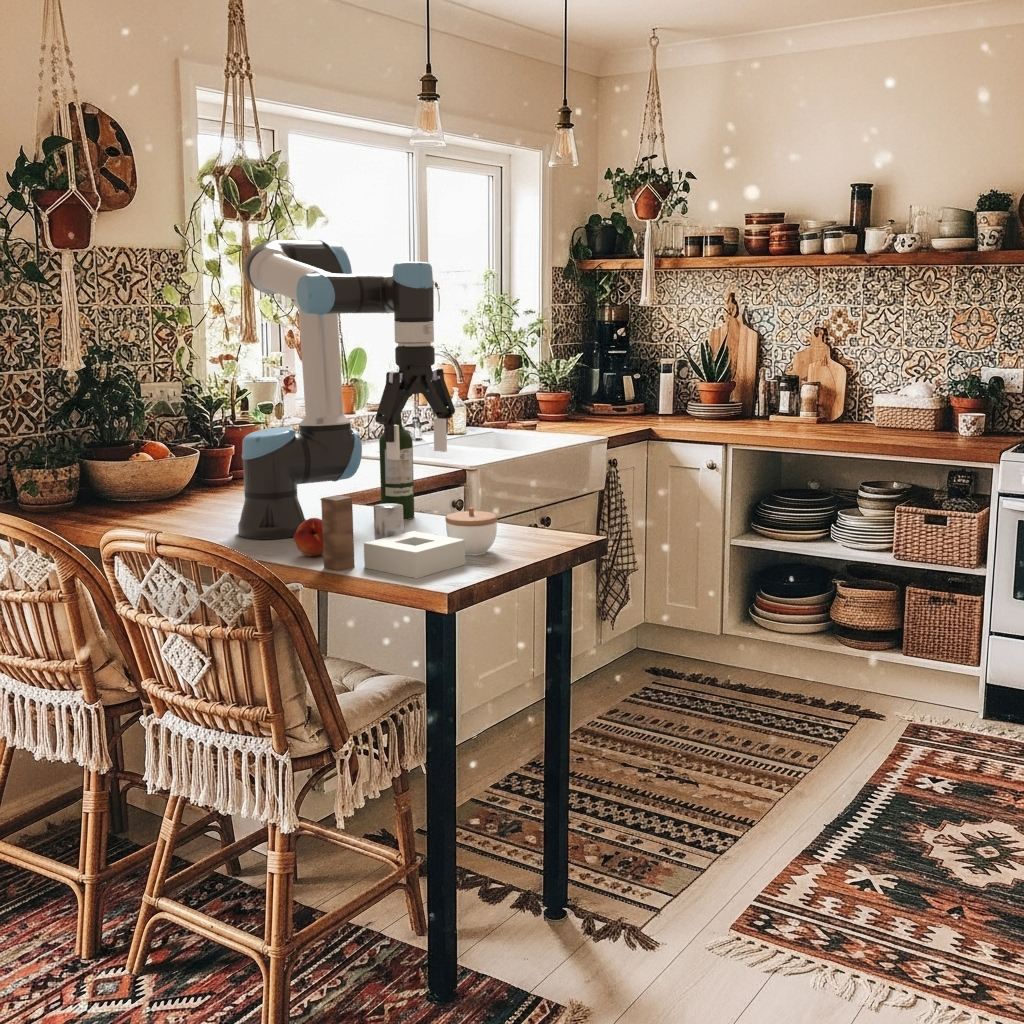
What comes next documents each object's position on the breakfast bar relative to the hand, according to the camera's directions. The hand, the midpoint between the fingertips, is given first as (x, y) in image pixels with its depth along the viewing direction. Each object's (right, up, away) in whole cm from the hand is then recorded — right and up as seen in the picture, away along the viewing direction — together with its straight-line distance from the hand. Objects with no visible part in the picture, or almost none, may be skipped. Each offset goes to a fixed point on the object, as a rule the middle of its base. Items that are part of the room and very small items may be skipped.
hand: (417, 455), depth 220 cm
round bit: (-7, -20, +14) cm, 25 cm away
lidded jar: (+10, -20, +15) cm, 27 cm away
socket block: (-1, -22, +3) cm, 22 cm away
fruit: (-22, -20, +13) cm, 33 cm away
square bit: (-16, -22, +2) cm, 27 cm away
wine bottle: (-9, -12, +53) cm, 55 cm away
